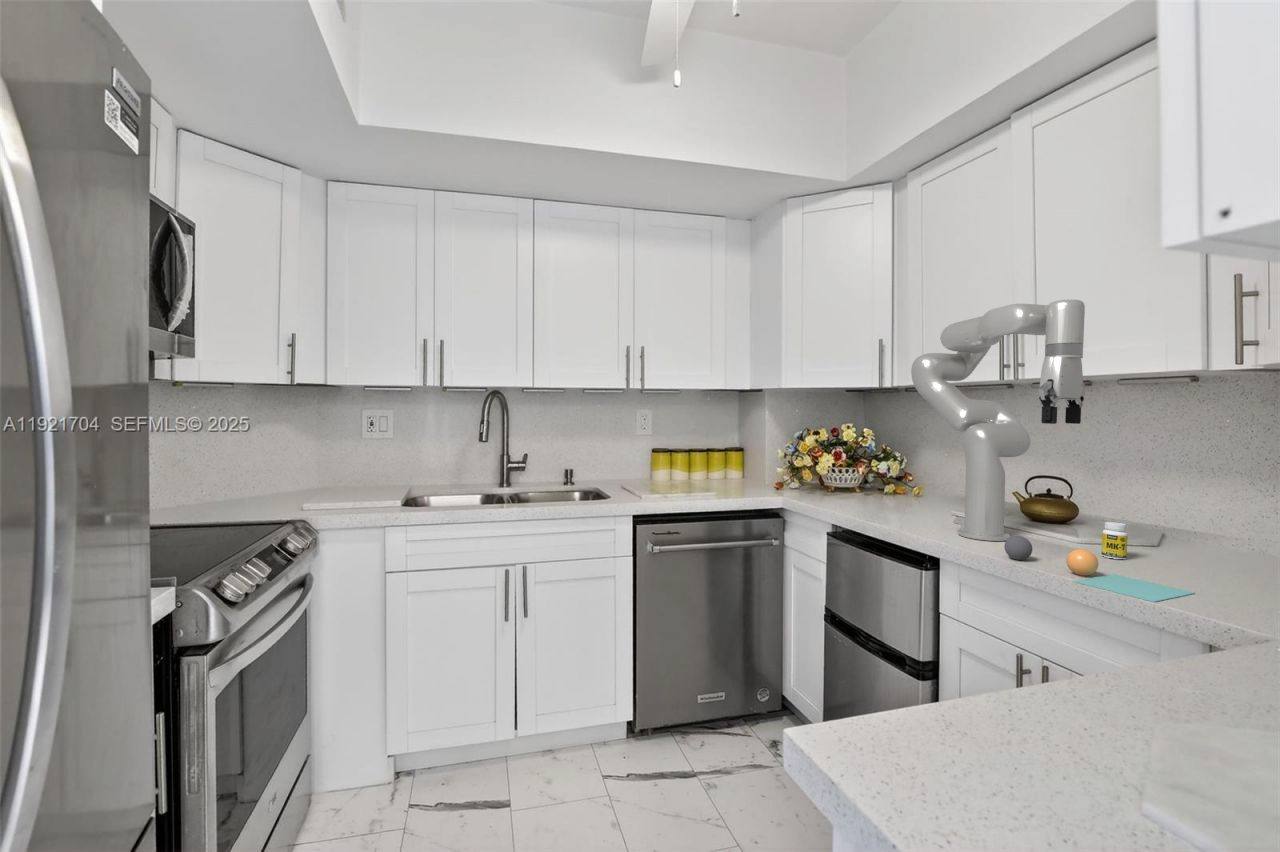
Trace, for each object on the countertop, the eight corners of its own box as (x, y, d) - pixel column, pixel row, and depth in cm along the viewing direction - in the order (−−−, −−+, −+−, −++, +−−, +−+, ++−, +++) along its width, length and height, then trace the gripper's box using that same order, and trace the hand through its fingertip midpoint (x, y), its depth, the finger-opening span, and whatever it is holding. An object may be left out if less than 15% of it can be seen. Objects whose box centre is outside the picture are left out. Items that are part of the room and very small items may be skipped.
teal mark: (1074, 581, 124) (1074, 580, 124) (1114, 574, 130) (1114, 573, 130) (1154, 602, 111) (1154, 601, 111) (1195, 593, 117) (1195, 592, 117)
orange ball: (1059, 573, 131) (1060, 547, 130) (1075, 570, 133) (1076, 545, 133) (1087, 580, 125) (1089, 553, 125) (1104, 577, 128) (1105, 551, 127)
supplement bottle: (1103, 558, 144) (1104, 523, 144) (1099, 554, 148) (1100, 520, 148) (1128, 561, 142) (1130, 526, 141) (1123, 557, 146) (1125, 522, 145)
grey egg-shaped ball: (998, 557, 143) (999, 534, 143) (1014, 555, 146) (1014, 532, 145) (1021, 563, 138) (1022, 539, 138) (1037, 561, 140) (1038, 537, 140)
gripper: (1067, 355, 152) (1065, 423, 152) (1025, 351, 144) (1023, 423, 145) (1101, 353, 145) (1098, 424, 145) (1059, 349, 137) (1056, 424, 138)
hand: (1061, 423), depth 145 cm, fingers open, 9 cm apart
